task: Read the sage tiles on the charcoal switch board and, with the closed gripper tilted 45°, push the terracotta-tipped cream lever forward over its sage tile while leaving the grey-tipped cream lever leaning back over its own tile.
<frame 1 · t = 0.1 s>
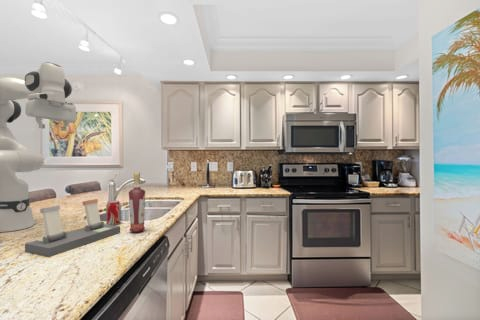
hand: (53, 129, 115), 48 cm above the counter, tool pointing down, fingers open, 8 cm apart
liquor: (137, 231, 120), on the counter
switch board: (77, 241, 106), on the counter
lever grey: (52, 223, 99), point 10 cm above the counter, hinge at -15.0°
lever terracotta: (92, 214, 114), point 10 cm above the counter, hinge at -15.0°
soda can: (113, 224, 134), on the counter
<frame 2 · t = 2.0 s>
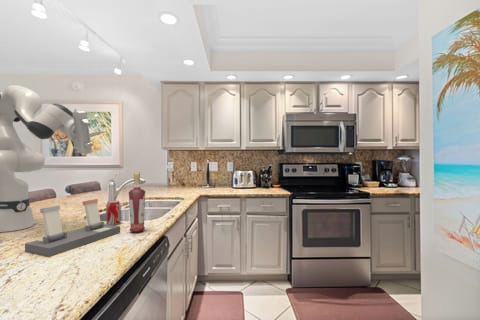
hand: (89, 134, 115), 46 cm above the counter, tool horizontal, fingers open, 8 cm apart
nothing on the counter moved.
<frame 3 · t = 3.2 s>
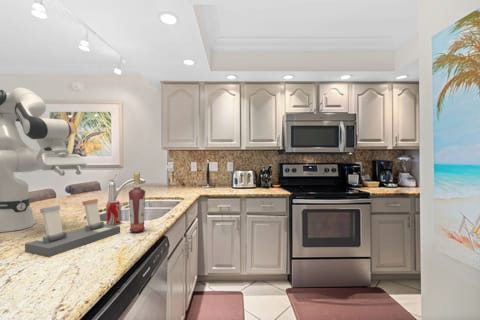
hand: (71, 174, 119), 27 cm above the counter, tool tilted 45°, fingers open, 6 cm apart
nothing on the counter moved.
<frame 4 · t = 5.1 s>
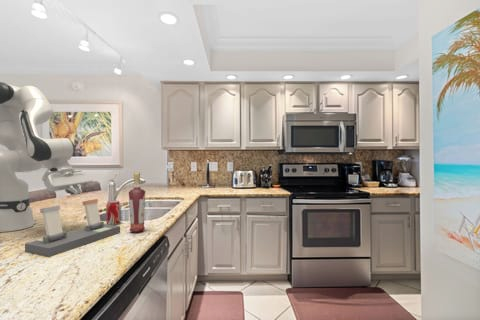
hand: (78, 193, 119), 18 cm above the counter, tool tilted 45°, fingers closed
nothing on the counter moved.
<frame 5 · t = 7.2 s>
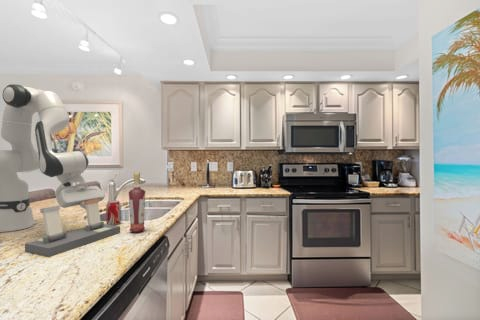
hand: (90, 209, 115), 11 cm above the counter, tool tilted 45°, fingers closed, pressing on lever terracotta
lever terracotta: (93, 214, 114), point 10 cm above the counter, hinge at -10.7°, touching gripper
everything else where it was.
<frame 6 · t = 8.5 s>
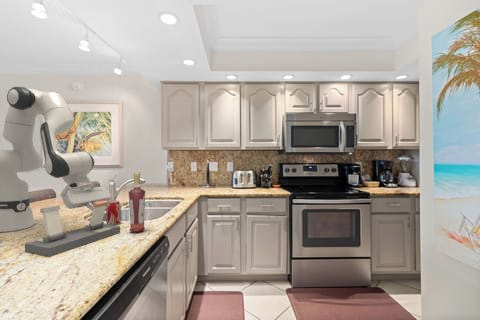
hand: (97, 210, 114), 11 cm above the counter, tool tilted 45°, fingers closed, pressing on lever terracotta
lever terracotta: (97, 215, 113), point 9 cm above the counter, hinge at 20.8°, touching gripper
everything else where it was.
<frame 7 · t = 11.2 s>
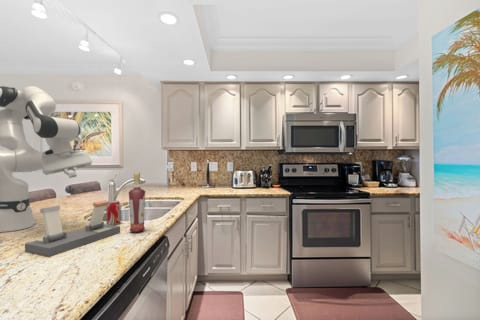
hand: (73, 176, 120), 26 cm above the counter, tool tilted 35°, fingers closed
lever terracotta: (97, 215, 113), point 9 cm above the counter, hinge at 20.9°
everything else where it was.
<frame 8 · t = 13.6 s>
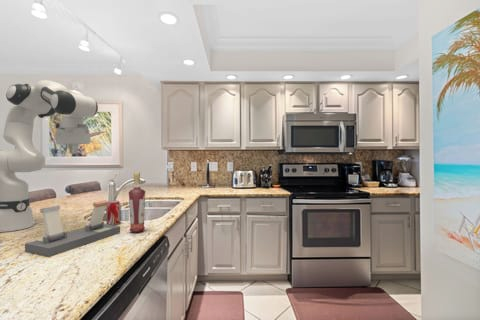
hand: (72, 153, 122), 37 cm above the counter, tool pointing down, fingers closed
nothing on the counter moved.
at the end: lever terracotta at +21° (first picture: -15°); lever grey at -15° (first picture: -15°) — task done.
